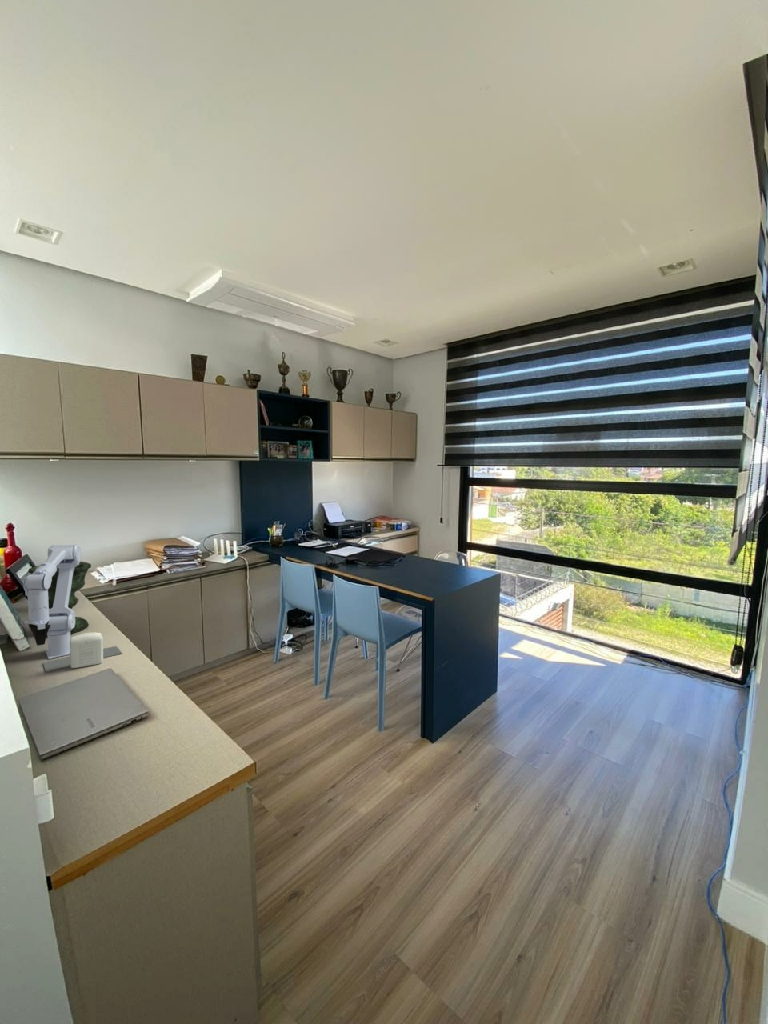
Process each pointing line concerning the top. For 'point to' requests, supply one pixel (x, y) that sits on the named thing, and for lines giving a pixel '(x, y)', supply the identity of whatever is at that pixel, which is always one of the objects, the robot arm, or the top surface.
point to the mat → (66, 661)
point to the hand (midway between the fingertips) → (40, 643)
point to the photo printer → (86, 650)
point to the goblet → (76, 585)
